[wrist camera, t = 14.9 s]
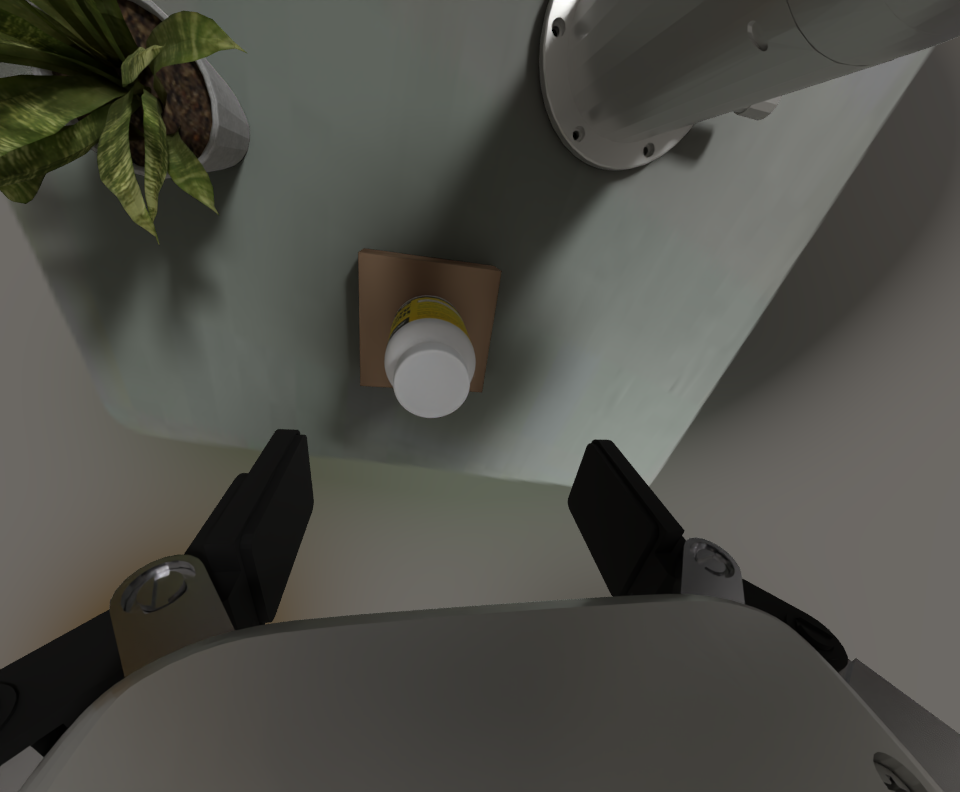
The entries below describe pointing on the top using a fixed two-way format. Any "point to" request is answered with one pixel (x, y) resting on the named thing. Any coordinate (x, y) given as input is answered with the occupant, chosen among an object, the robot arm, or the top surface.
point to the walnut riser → (410, 276)
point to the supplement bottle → (429, 357)
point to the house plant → (116, 99)
